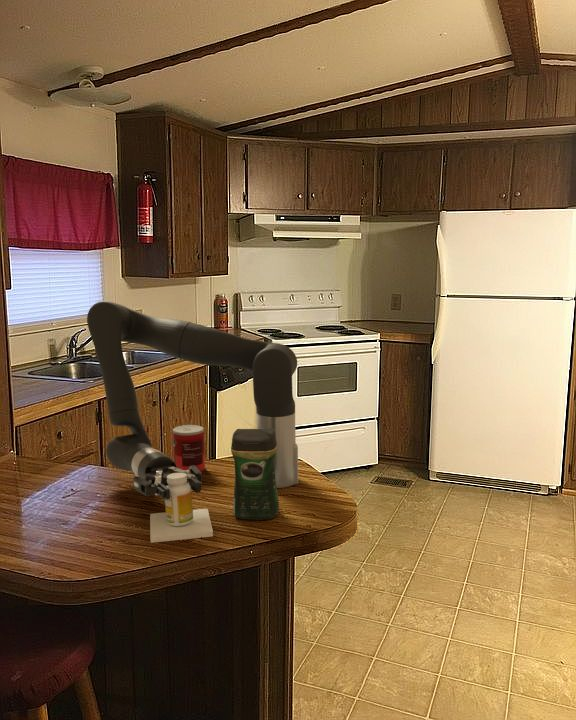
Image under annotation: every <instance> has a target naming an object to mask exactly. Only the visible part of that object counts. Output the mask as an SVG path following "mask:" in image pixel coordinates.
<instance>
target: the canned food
mask: <svg viewBox="0 0 576 720" xmlns="http://www.w3.org/2000/svg"><path fill="white" fill-rule="evenodd" d="M172 441H173V442H172V443H173V445H172V446H173V461H174V463H175V464H176V466H177V467H178V468H182V469H183V470H189V468H190V466H192V465H193V466H196V467H197V468H198V470H199V471H200V472H201V473H203V472H204V471H205V468H206V457H205V456H206V454H205V453H206V452H205V429H204V427H203V426H202V425H201V426H200V425H197V424H183V425H179V426H175V427H174V428H173V429H172ZM202 471H203V472H202Z"/></svg>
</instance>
